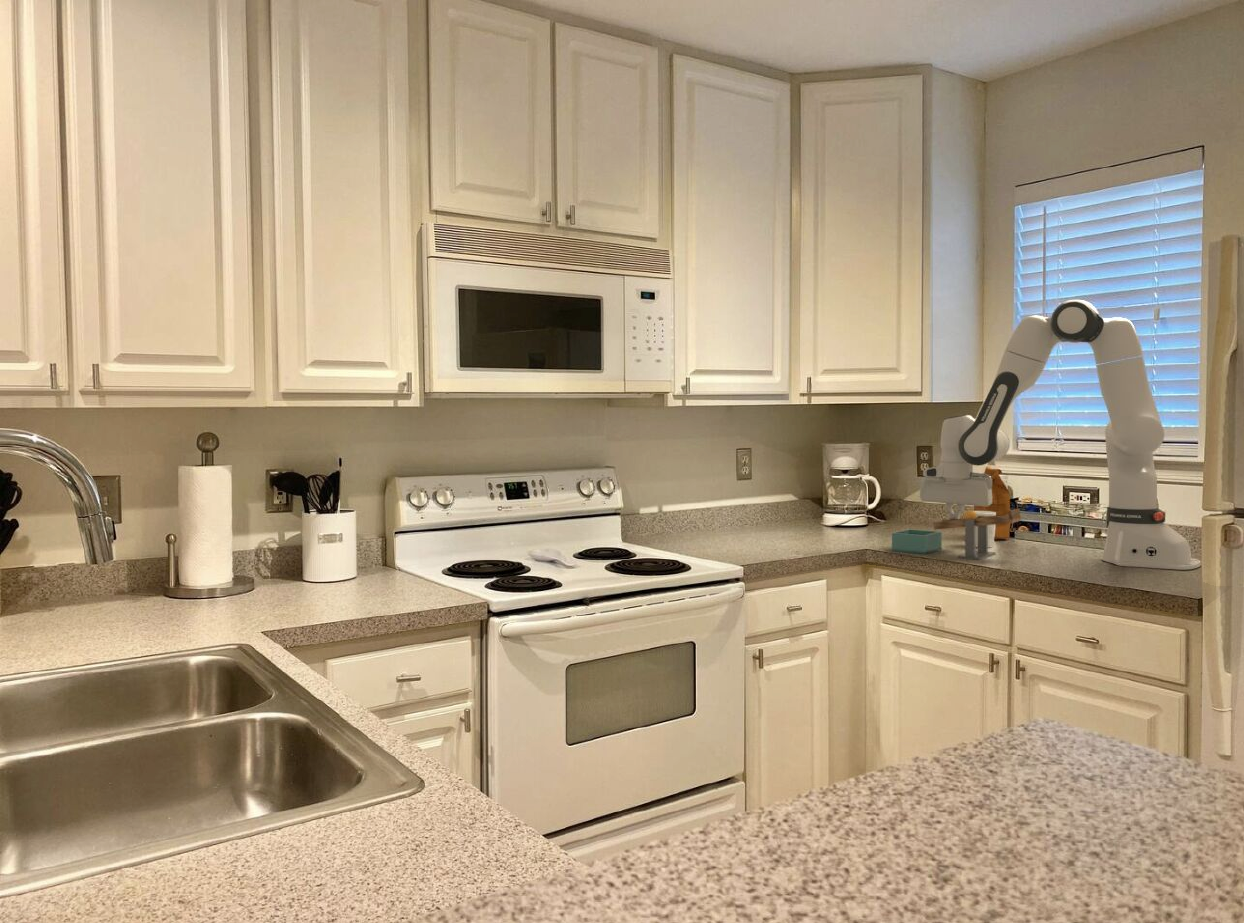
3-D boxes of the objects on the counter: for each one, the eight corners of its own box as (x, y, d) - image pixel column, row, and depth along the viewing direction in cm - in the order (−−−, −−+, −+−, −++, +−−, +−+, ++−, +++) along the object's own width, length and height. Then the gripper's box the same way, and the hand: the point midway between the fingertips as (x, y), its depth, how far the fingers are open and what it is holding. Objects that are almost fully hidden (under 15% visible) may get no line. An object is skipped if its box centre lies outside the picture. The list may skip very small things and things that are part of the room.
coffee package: (1002, 535, 299) (1002, 465, 298) (1013, 541, 287) (1013, 468, 286) (969, 535, 301) (969, 466, 299) (979, 541, 288) (979, 469, 287)
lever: (1030, 518, 260) (1028, 506, 260) (1012, 523, 251) (1010, 511, 251) (953, 525, 275) (951, 513, 275) (934, 530, 266) (932, 518, 266)
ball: (977, 523, 263) (980, 511, 262) (971, 525, 260) (975, 513, 259) (965, 519, 265) (968, 507, 264) (959, 521, 262) (963, 509, 261)
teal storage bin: (941, 549, 274) (941, 531, 273) (925, 554, 266) (925, 535, 266) (908, 546, 281) (908, 528, 280) (892, 550, 273) (891, 532, 273)
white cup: (1000, 548, 275) (1000, 513, 274) (972, 548, 275) (972, 514, 274) (990, 543, 282) (990, 510, 282) (963, 544, 283) (963, 511, 282)
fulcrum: (995, 554, 263) (995, 516, 263) (979, 559, 255) (979, 520, 255) (974, 552, 267) (974, 515, 267) (957, 557, 259) (957, 519, 259)
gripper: (996, 473, 266) (995, 521, 267) (927, 468, 280) (926, 515, 281) (987, 474, 261) (986, 524, 262) (917, 470, 275) (916, 517, 276)
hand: (954, 519), depth 272 cm, fingers closed
